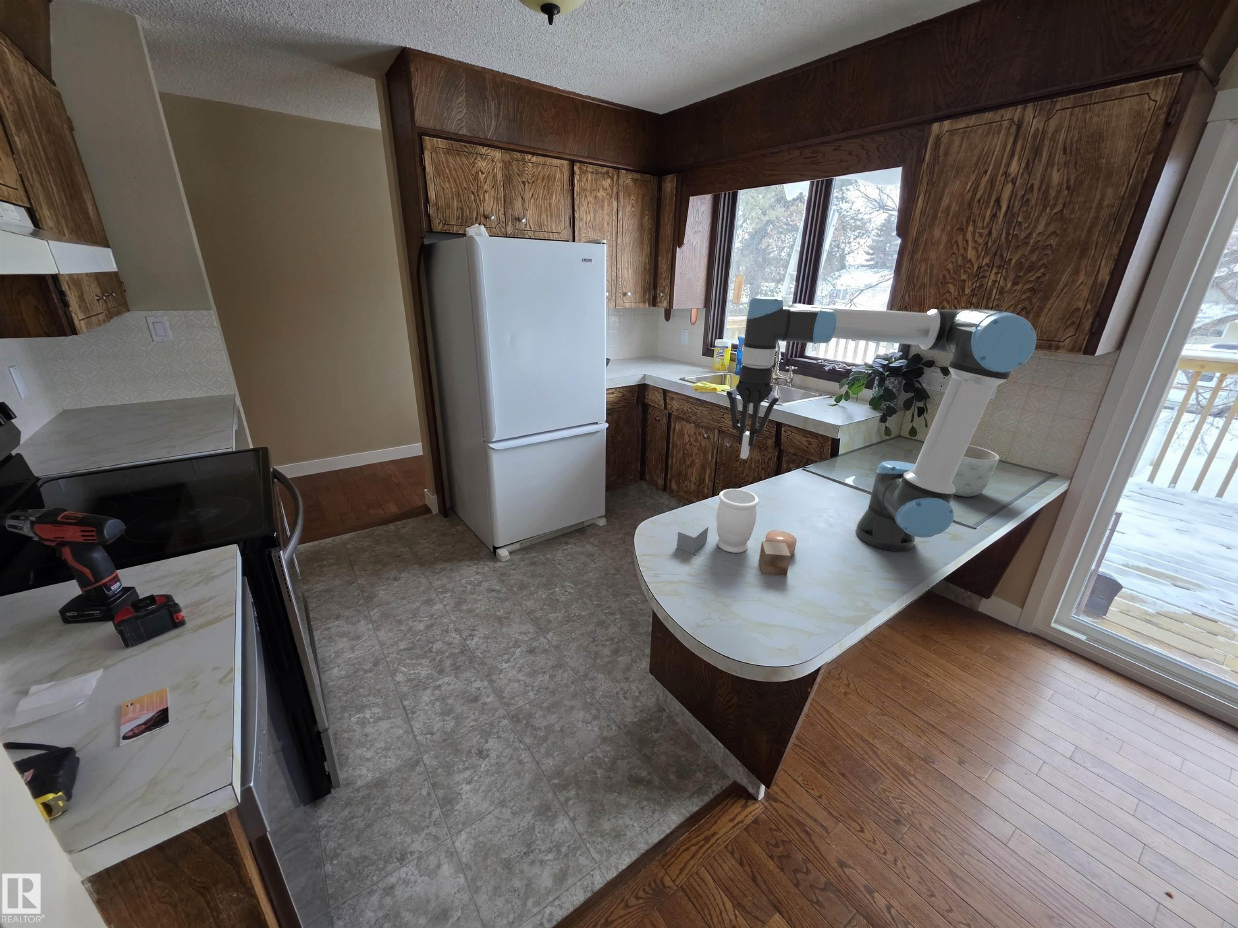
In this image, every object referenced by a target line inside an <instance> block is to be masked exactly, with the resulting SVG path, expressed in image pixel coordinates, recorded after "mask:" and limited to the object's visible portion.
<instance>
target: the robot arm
mask: <svg viewBox="0 0 1238 928" xmlns="http://www.w3.org/2000/svg"><path fill="white" fill-rule="evenodd" d="M745 322H746V324H745V331H744V339H743V348H742V355H741V360H740V361H741V363H742V364H741V365H740V370H739V377H738V383H737V384H736V385H735V387H734V388H732V389H729V390H727V391H726V394H725V395H726V397H727V399H728V400H729V409H730V417H731V425H732V429H733V430H736V431H738V432H739V433H738V441H737V444H738V445H740V446H741V449H740V457H739V458H740V459H743V460H747V458H748V457H749V453H750V447H753V446H754V445H755V440H756V435H758V434H760V435H761V434H762V433H763V431H764V430H765V428H766V426H767V423H768V421H769V419H770V417H771V414H772V412H773V410H774V408H775V407H774V406H775V405H777V404H778V402H780V400H781V397H780V395H776V394H775V393H774V392H773V388H772V386H771V384H772V377H773V371H774V368H773V366H774V363H775V357H776V352H777V351H776V350H777V345H778V341H779V342H794V343H806V344H807V343H810V344H814V345H816V344H828V343H829V342H831V341H832V339H839V340H840V339H841V340H851V341H852V340H853V341H865V342H877V343H888V344H889V343H890V344H892V343H893V344H901V345H902V344H905V345H914V346H916V345H917V346H919V347H920V349H922V350H924V351H925V350H926V351H936V352H940V353H942V354H947V355H950V356H952V357H951V359H950V362H949V365H948V367H947V368H948V370H949V372H950V374H951V379H950V381H949V384H948V386H947V388H946V390H945V392H944V395H943V397H942V400H941V403H940V405H939V407H938V409H937V411H936V414H935V417H934V419H933V421H932V423H931V426H930V428H929V430H928V434H927V436H926V438H925V440H924V443H923V445H922V448H921V449H920V452H919V455H918V457H917V460H916V462H915V463H910V462H906V461H898V460H897V461H896V460H887V461H886V460H885V461H882V462H881V463H880V464H879V465H878V467H877V471H876V472H875V479H874V483H873V487H872V490H871V494H870V495H871V496H870V498H869V504H868V508H867V509H866V511H865V512H864V514H863V515H862V517H861V518H860V520H858V522H857V524H856V529H855V534H856V536H857V537H858V538H859V539H860V540H861V541H862V542H864V543H866V544H867V545H870V546H872V547H874V548H877V549H880V550H885V551H889V552H907V551H910V550H912V549H913V547H914V546H915V545H914V544H915V541H916V538H926V539H928V538H932V537H935V536H936V535H940V534H943V533H944V532H945V531H946V530H948V529H949V528H950V526H952V523H953V521H954V517H955V514H954V513H955V512H954V509H953V507H952V505H951V502H952V500H953V497H954V496H955V495H954V494H955V491H956V489H955V487H954V485H953V483H952V480H953V478H954V476H955V474H956V471H957V469H958V467H959V465H960V463H961V461H962V458H963V456H964V454H965V452H966V450H967V448H968V445H970V443H971V441H972V439H973V436H974V434H975V432H976V430H977V428H978V425H979V423H980V422H981V419H982V416H983V415H984V413H985V410H986V409H987V406H988V404H989V401H990V399H991V398H992V395H993V392H994V391H995V388H996V387H997V386H999V385H1000V384H1003V383H1006V382H1007V381H1008V380H1009V377H1010V376H1011V373H1012V371H1013V370H1016V369H1018V368H1019V367H1020V366H1022V365H1024V364H1025V363H1026V362H1028V360H1029V359H1030V358H1031V356H1032V355H1033V353H1034V352H1035V349H1036V345H1037V334H1036V330H1035V329H1034V327H1033V325H1032V324H1031V322H1030V321H1028V320H1027V319H1026V318H1025V317H1023V316H1020V315H1018V314H1015V313H1011V312H1009V311H998V310H997V311H996V310H992V309H990V310H989V309H985V308H964V309H963V308H962V309H934V308H933V309H930V310H928V311H927V312H915V311H900V310H899V311H898V310H897V311H896V310H885V309H867V308H856V307H855V308H854V307H840V306H827V305H826V306H824V305H821V306H819V305H811V304H810V305H809V304H803V303H793V304H790V305H788V306H784V300H783V298H780V297H771V296H754V297H752V298H751V300H750V301H749V304H748V311H747V315H746V321H745ZM738 395H739V397H740V399H741V400H742V405H741V406H742V407H741V408H742V409H741V417H739V409H738V407H739V406H738V399H737V397H738ZM768 397H769V398H768ZM767 398H768V402H769V403H768V405H767V406H766V409H765V411H764V414H763V416H762V418H761V421H760V424H759V426H758V421H759V415H760V408H761V406H762V405H761V404H762V403H763V402H764V401H765V400H766V399H767ZM751 404H752V411H751V412H752V413H751V420H750V426H749V430H747V428H748V425H747V424H748V418H749V412H750V407H751V406H750V405H751Z"/></svg>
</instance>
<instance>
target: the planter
mask: <svg viewBox="0 0 1238 928" xmlns="http://www.w3.org/2000/svg"><path fill="white" fill-rule="evenodd" d="M999 461H1000V456H999V455H998V454H997V453H995V452H993V451H991V450H989V449H986V448H983V447H979V446H975V445H970V444H969V445H968V448H967V450H966V452H965V454H964V456H963V458H962V461H961V463H960V465H959V467H958V469H957V471H956V474H955V476H954V478H953V480H952V483H953V485H954V487H955V489H956V491H955V494H954V496H958V497H975V496H978V495H980V494H982V492H984V491H985V490H986V488H987V487H988V486H989V483H990V482H991V478H992V476H993V474H994V472H995V469H996V467H997V465H998V464H999Z"/></svg>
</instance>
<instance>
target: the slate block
mask: <svg viewBox="0 0 1238 928" xmlns="http://www.w3.org/2000/svg"><path fill="white" fill-rule="evenodd" d="M708 532H709V526H708V525H706V524H703V523H700V522H697V521H695V520H692V521H690V522H688V523H687V524H686V525H685V526H684V527H682V528H681V529H679V530H678V532H677V540H676V548H678V549H680V550H682V551H685V552H688V553H691V554H694V553H695V552H697V551H698V550H699V549H700V548H701V547H702V546H703V545H705V544H706V543H707V542H708V534H709V533H708Z"/></svg>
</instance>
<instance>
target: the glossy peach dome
mask: <svg viewBox="0 0 1238 928" xmlns="http://www.w3.org/2000/svg"><path fill="white" fill-rule="evenodd" d="M764 541H765V542H777V543H786V545H787V548H788V550H789V553H790V555H791V557H790V558H792V557H793V556H794V555H795V551H796V546H797V542H798V541H797V538H796V536H795V535H793V534H791V533H789V532H787V531H784V530H771V531H770V530H769V531H768V532H767V533H766V534H765V539H764Z"/></svg>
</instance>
